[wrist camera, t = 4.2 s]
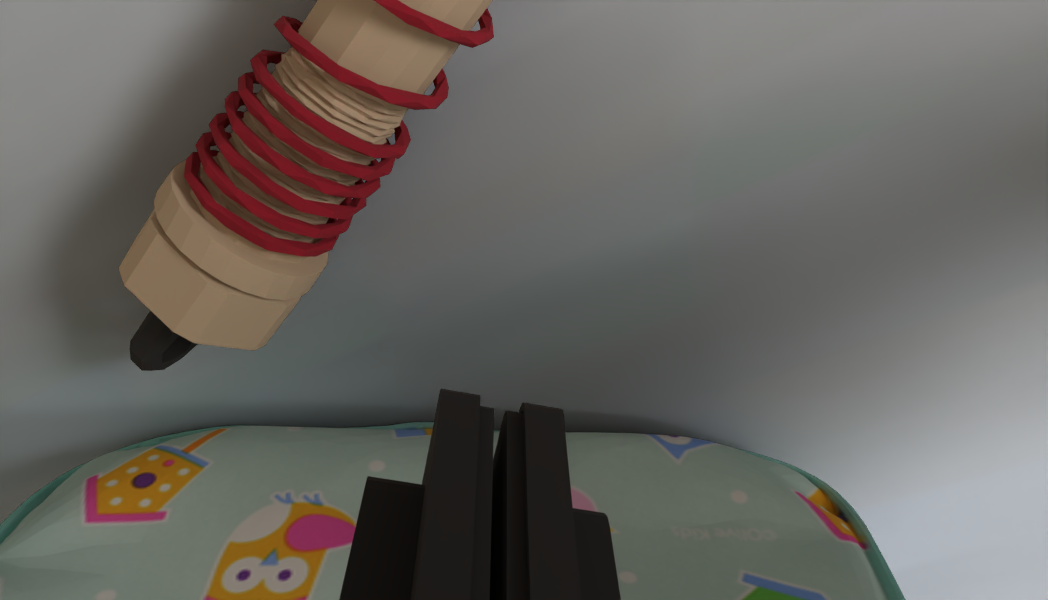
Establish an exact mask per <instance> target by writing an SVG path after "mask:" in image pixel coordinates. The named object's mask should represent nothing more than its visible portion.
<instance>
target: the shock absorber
mask: <svg viewBox="0 0 1048 600" xmlns="http://www.w3.org/2000/svg"><path fill="white" fill-rule="evenodd" d="M491 2H492V0H318V1H317V2H316V4H315V5H314V7H313V8H312V10H311V12H310V13H309V15H308V16H307V18H306V19H305V21H304V22H303V23H301V22H300V21H298V20H297V19H294V18H290V17H285V16H282V17H281V18H280V19H279V20H278V21H277V22H276V23H275V24H274V25H275V27H276V28H277V29H278V30H279V31H280V33H281V34H282V35H283V36H284V37H285V39H286V40H287V41H288V42H289V44H290V45H291V46H292V47H291V48H290V49H289V50H288V51H287V52H286V53H284V52H276V51H268V50H262V51H261V52H259V53H258V54H257V55H256V56H254V57H253V58H252V59H251V60H250V62H251V65H252V68H253V71H254V72H250V73H245V74H244V75H242V76H241V77H240V78H238V91H235V92H231V93H230V94H229V95H228V96H227V98H226V99H225V109H226V112H227V113H219V114H217V115H216V116H215V117H214V118H213V120H212V121H211V122H210V123H209V127H210V130H211V132H207V133H203V135H202V136H201V138H200V139H199V141H198V142H197V144H196V148H197V151H198V152H193V153H192V154H191V155H190V156H189V157H188V158H187V159H186V160H184V161H182V162H180V163H179V164H177V165H176V166H175V167H174V168H173V169H172V171H171V172H170V174H169V175H168V176H167V178H166V179H165V181H164V182H163V183H162V185H161V186H160V188H159V189H158V191H157V193H156V196H155V200H154V207H155V209H154V210H153V212H152V213H151V215H150V216H149V218H148V220H147V221H146V223H145V224H144V226H143V227H142V229H141V231H140V232H139V234H138V235H137V237H136V238H135V240H134V242H133V244H132V245H131V247H130V249H129V251H128V252H127V254H126V256H125V258H124V260H123V261H122V263H121V265H120V267H119V268H118V269H119V271H120V274H121V277H122V280H123V283H124V286H125V287H126V288H128V289H129V290H130V291H131V292H132V293H133V294H134V295H135V296H136V297H137V298H138V299H139V300H140V301H141V302H142V303H143V304H144V305H145V306H146V307H148V308H149V309H150V310H151V311H150V312H149V314H148V315H147V317H146V318H145V320H144V321H143V323H142V325H141V326H140V328H139V329H138V331H137V332H136V334H135V335H134V337H133V338H132V340H131V342H130V357H131V360H132V361H133V362H134V363H135V364H136V365H137V366H138V367H139V368H140V369H141V370H163V369H165V368H167V367H169V366H170V365H172V364H174V363H175V362H177V361H178V360H180V359H181V358H183V357H184V356H185V355H186V354H187V353H188V352H189V351H190V350H191V349H193V348H194V347H195V346H196V345H197V344H204V345H212V346H220V347H229V348H237V349H245V350H253V351H254V350H256V349H258V348H261V347H263V346H265V345H266V343H267V342H268V341H269V339H270V338H271V337H272V336H273V334H274V333H275V332H276V330H277V329H278V328H279V326H280V325H281V324H282V322H283V321H284V320H285V319H286V317H287V316H288V315H289V313H290V312H291V311H292V309H293V308H294V307H295V305H296V304H297V303H298V302H299V300H300V297H301V296H302V295H304V294H305V293H307V292H309V290H310V289H311V287H312V286H313V284H314V283H315V281H316V280H317V278H318V277H319V275H320V274H321V272H322V271H323V269H324V268H325V266H326V265H327V263H328V251H330V250H332V248H333V246H334V244H335V242H336V240H337V238H338V236H339V234H341V233H343V232H345V231H346V230H347V229H348V228H349V226H350V223H351V220H352V217H353V215H354V214H355V213H357V212H358V211H359V210H361V209H362V208H364V207H365V206H366V198H368V197H369V196H370V195H371V194H372V193H374V192H375V191H376V190H377V189H378V188H380V177H382V176H385V175H388V174H390V172H391V171H392V167H393V164H394V161H395V158H400V157H401V156H402V155H404V153H405V151H406V149H407V147H408V145H409V143H410V140H411V139H410V135H409V132H408V129H407V127H406V125H405V124H404V122H403V120H402V118H403V116H404V115H405V113H406V112H407V110H408V109H409V108H410V109H414V110H420V109H436V108H437V107H438V106H439V105H440V104H441V103H442V102H443V101H444V100H445V99H446V98H447V96H448V89H449V87H448V83H447V78H446V75H445V73H444V71H443V69H442V68H443V67H444V65H445V64H446V63H447V61H448V60H449V59H450V57H451V56H452V54H453V53H454V52H455V50H456V49H457V48H458V46H459V45H460V44H461V45H465V46H468V47H472V48H473V47H476V46H478V45H481V44H483V43H486V42H488V41H489V40H491V39H492V38H493V37H494V34H493V25H492V18H491V16H490V14H489V11H488V9H487V7H488V6H489V4H490V3H491ZM477 21H479V24H480V29H481V30H478V31H470V30H471V29H472V27H473V26H474V25H475V23H476V22H477ZM270 62H271V63H274V64H277V65H275V67H276V69H275V70H274V71H273V73H272V74H270V72H269V71H268V70H267V64H269V63H270ZM432 82H433V83H434V85H435V89H434V91H433V93H432V94H431V95H429V96H426V95H423V94H424V92H425V91H426V90H427V88H428V87H429V86H430V84H431V83H432ZM253 83H257V84H261V85H262V86H261V87H262V89H261V90H260V91H259V92H258V93H257V94H256V93H253ZM242 105H245V106H246V107H247V109H248V110H247V111H245V112H242V111H237V109H238V108H239V107H240V106H242ZM229 124H231V127H232V130H233V132H231V133H229V132H225V128H226V127H227V126H228V125H229ZM392 133H395V141H396V143H395V144H394V145H390V143H389V141H388V139H387V138H388V137H391V136H392V135H391V134H392ZM215 145H217V147H218V148H219V150H220V152H219V151H216V150H210V147H211V146H215ZM375 158H381V161H380V162H379V163H378V161H377V160H376V159H375ZM362 179H363V180H366V181H365V183H364V182H363V180H362ZM351 198H353V199H351ZM337 219H338V220H337Z"/></svg>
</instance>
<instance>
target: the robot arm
mask: <svg viewBox="0 0 1048 600" xmlns="http://www.w3.org/2000/svg"><path fill="white" fill-rule="evenodd" d="M493 443H494V408H488V407H482V406H480V395H475V394H469V393H463V392H457V391H451V390H445V389H441V391H440V395H439V399H438V404H437V409H436V414H435V419H434V425H433V430H432V435H431V440H430V445H429V450H428V455H427V460H426V465H425V470H424V475H423V480H422V484H415V483H409V482H403V481H396V480H390V479H383V478H377V477H371V476H368V477H367V480H366V484H365V488H364V492H363V497H362V501H361V506H360V510H359V515H358V519H357V523H356V528H355V532H354V537H353V541H352V545H351V550H350V554H349V559H348V563H347V568H346V572H345V576H344V581H343V585H342V590H341V594H340V599H339V600H621V597H620V591H619V584H618V577H617V571H616V564H615V557H614V551H613V544H612V537H611V531H610V525H609V521H608V517H607V515H606V514H605V513H602V512H595V511H589V510H582V509H576V508H573V506H572V496H571V485H570V475H569V465H568V455H567V445H566V434H565V424H564V414H563V410H562V409H559V408H553V407H547V406H541V405H535V404H529V403H522V405H521V407H520V410H519V413H518V412H512V411H505V414H504V417H503V421H502V425H501V429H500V433H499V437H498V442H497V446H496V450H495V454H494V458H493Z"/></svg>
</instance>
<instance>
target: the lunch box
mask: <svg viewBox="0 0 1048 600" xmlns="http://www.w3.org/2000/svg"><path fill="white" fill-rule="evenodd" d="M433 425H434V422H410V423H403V424H396V425H390V426H376V427H358V428H320V427H287V426H246V425H235V426H223V427H212V428H205V429H199V430H193V431H187V432H182V433H176V434H171V435H166V436H161V437H157V438H153V439H150V440H147V441H143V442H140V443H136V444H133V445H130V446H127V447H124V448H121V449H119V450H116V451H113V452H110V453H107V454H104V455H102V456H99V457H97V458H95V459H93V460H91V461H90V462H87V463H85V464H82V465H80V466H78V467H76V468H74V469H72V470H70V471H68V472H67V473H65V474H63V475H61V476H60V477H58V478H57V479H55V480H54V481H52V482H51V483H49V484H48V485H46V486H45V487H43V488H42V489H40V490H39V491H37V492H36V493H35V494H33V495H32V496H31V497H30V498H28V499H27V500H26V501H25V502H24V503H22V504H21V505H20V506H19V507H18V508H17V509H16V510H15V511H14V512H13V513H12V514H11V515H10V516H9V517H8V518H7V519H6V520H4V521H3V522H2V523H1V524H0V600H339V599H340V594H341V590H342V585H343V581H344V576H345V572H346V568H347V563H348V559H349V554H350V550H351V545H352V541H353V537H354V532H355V528H356V523H357V519H358V515H359V510H360V506H361V501H362V497H363V492H364V488H365V484H366V480H367V477H368V476H371V477H377V478H383V479H390V480H396V481H403V482H409V483H415V484H422V480H423V475H424V470H425V465H426V460H427V455H428V450H429V445H430V440H431V435H432V430H433ZM499 433H500V431H495V430H494V443H493V458H494V454H495V450H496V446H497V442H498V437H499ZM565 434H566V445H567V455H568V465H569V475H570V485H571V496H572V506H573V508H576V509H582V510H589V511H595V512H602V513H605V514H606V515H607V517H608V521H609V525H610V531H611V537H612V544H613V551H614V557H615V564H616V571H617V577H618V584H619V591H620V597H621V600H905V598H904V596H903V594H902V592H901V590H900V588H899V586H898V584H897V582H896V580H895V578H894V576H893V575H892V573H891V571H890V569H889V567H888V565H887V563H886V561H885V559H884V557H883V556H882V554H881V552H880V550H879V548H878V546H877V545H876V543H875V541H874V539H873V537H872V536H871V534H870V532H869V530H868V528H867V526H866V525H865V524H864V522H863V521H862V519H861V518H860V517H859V515H858V514H857V512H856V511H855V510H854V509H853V508H852V506H851V505H850V504H849V503H848V502H847V501H846V500H845V499H844V498H843V497H842V496H841V495H840V494H839V493H838V492H836V491H835V490H834V489H833V488H831V487H830V486H829V485H828V484H826V483H825V482H823V481H821V480H820V479H818V478H817V477H815V476H813V475H811V474H809V473H807V472H805V471H803V470H801V469H799V468H797V467H794V466H792V465H789V464H786V463H784V462H781V461H779V460H775V459H772V458H769V457H766V456H763V455H760V454H756V453H752V452H748V451H744V450H740V449H736V448H732V447H729V446H725V445H722V444H718V443H714V442H710V441H707V440H702V439H695V438H689V437H683V436H671V435H655V434H637V433H595V432H565Z"/></svg>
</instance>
